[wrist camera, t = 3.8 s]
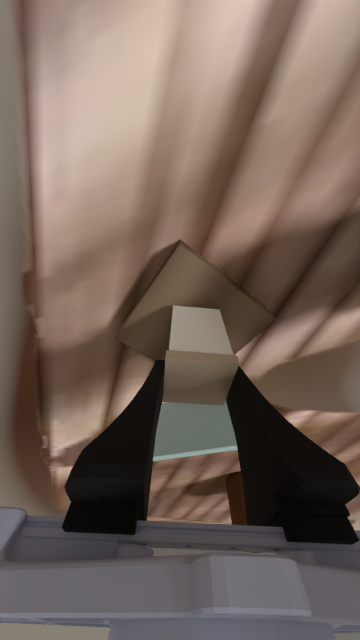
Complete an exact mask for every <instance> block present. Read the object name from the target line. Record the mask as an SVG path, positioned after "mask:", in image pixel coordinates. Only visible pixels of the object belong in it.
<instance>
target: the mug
mask: <svg viewBox="0 0 360 640" xmlns="http://www.w3.org/2000/svg"><path fill="white" fill-rule="evenodd" d="M226 487H227V494H228V500H229V507H230V514H231V520H232V525H247V518H246V508H245V499H244V490H243V483H242V475H241V472H238V473H234V474H232V475H230V476H229V477H228V478H227V481H226ZM244 552H246V551H244ZM254 553H257V552H254ZM258 553H259V552H258Z"/></svg>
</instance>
